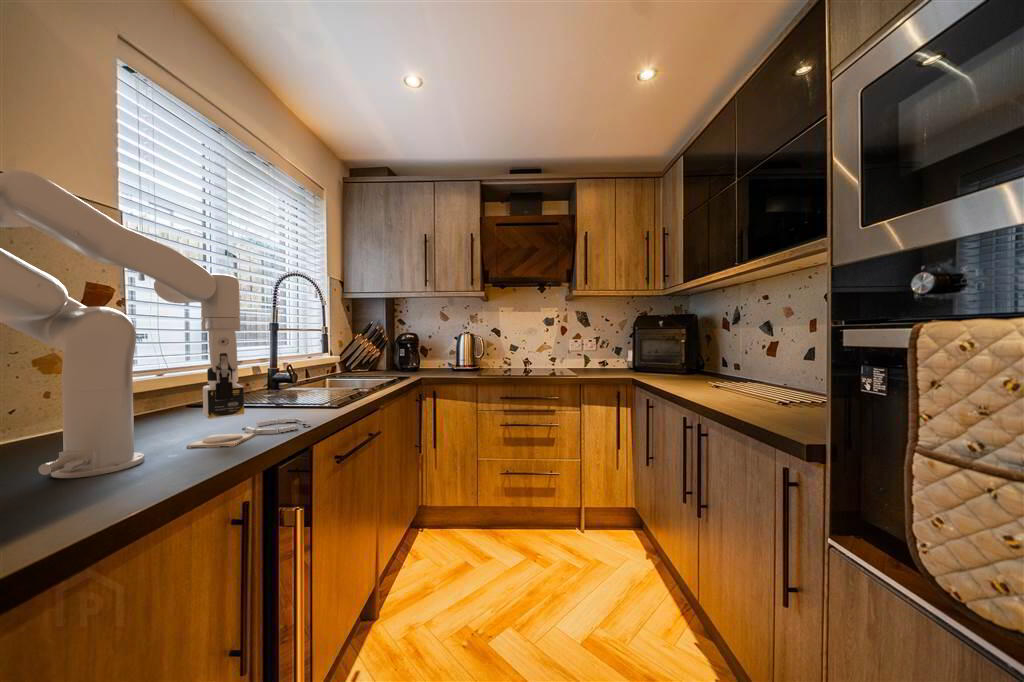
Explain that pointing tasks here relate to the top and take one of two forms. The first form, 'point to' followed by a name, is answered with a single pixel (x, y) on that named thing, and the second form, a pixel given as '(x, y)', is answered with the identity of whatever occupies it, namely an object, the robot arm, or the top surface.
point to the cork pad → (222, 440)
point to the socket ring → (274, 430)
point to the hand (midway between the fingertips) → (223, 397)
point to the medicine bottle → (222, 407)
